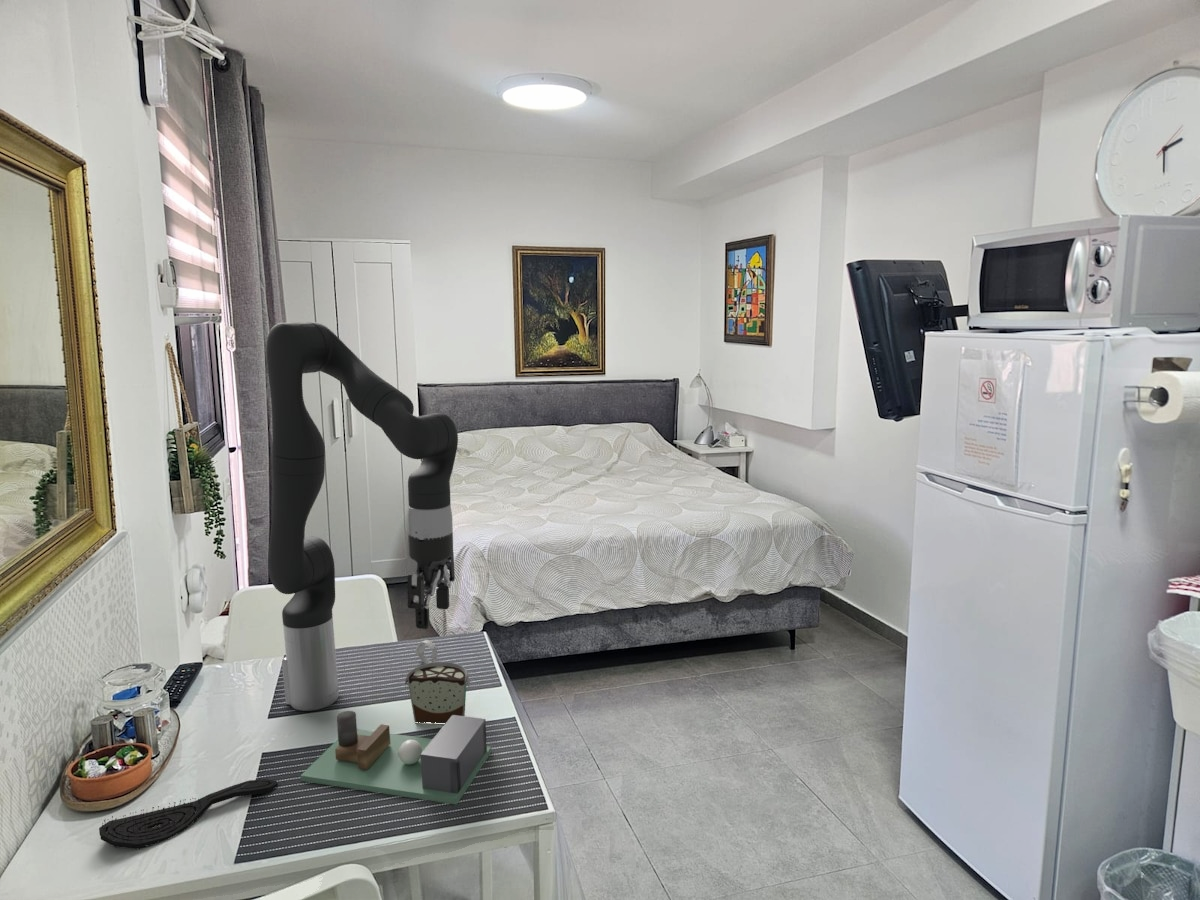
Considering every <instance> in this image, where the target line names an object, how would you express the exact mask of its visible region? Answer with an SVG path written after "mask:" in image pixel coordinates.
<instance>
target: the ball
mask: <svg viewBox="0 0 1200 900" xmlns="http://www.w3.org/2000/svg"><path fill="white" fill-rule="evenodd" d="M421 753H422V747H421V745H420V743H419V742H418V741H416V740H412V739H410V740H406V741H405V742H403V743H402V744H401V746H400V747H399V750H398V756H399V759H400V760H401V761H402V762H403V763H405V764H409V765H410V764H414V763H416V762H417V761H418V760H419V759H420V758H421V755H420V754H421Z"/></svg>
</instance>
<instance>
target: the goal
mask: <svg viewBox="0 0 1200 900" xmlns="http://www.w3.org/2000/svg"><path fill="white" fill-rule="evenodd" d="M486 722H487V721H486V718H482V717H474V716H473V717H472V716H457V715H452V716H451V717H450V719H449V720H448V721H447V722H446V723H445V725H442V727H441V728H440V730H439V731H438V732H437V733H436V735H435V736H434V737H433V738H431V739H432V741H431V742H430V743H429V744H428V746H427V747H426V748H425V749H424V751H423V752H422V753H421V754H420V755H421V772H422V788H423V789H430V790H437V791H443V792H450V793H457V794H458V793H459V791H460V790H461V788H462V787H463V785H464V784H465V782H466V781H467V780H468V778H469V777H470V775H471V774H472V772H473V771H474V769H475V768H476V766H477V765H478V763H479V762H480V760H481V759H482V757H483V756H484V754H485V753H486V751H487V746H488V745H487V723H486Z"/></svg>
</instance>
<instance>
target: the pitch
mask: <svg viewBox="0 0 1200 900" xmlns="http://www.w3.org/2000/svg"><path fill="white" fill-rule="evenodd" d="M374 731H375V730H365V729H359V728H357V734H358V735H366V736H370V735H371V734H372V733H373V732H374ZM410 739H412V740H416V741H418V742H419V743H420V745H421V747H422V752H423V751H424V749H425V748H426V747H427V746H428V744H429V743H430V742H431V741H432V739H433V738H427V737H426V738H425V737H419V736H411V735H403V734H396V733H390V745H389V746H388V747H387V748H386V749H385V750H384V752H383V753H382V754H381V755H380V756H379V757H378V758H377V759H376V760H375V762H374V763H373V764H372V765H371V766H370V767H369V768H368V769H367V770H365V769H359V768H358V763H356V762H349V761H342V760H336V754H335V749H336V748H337V747H338V746H339V743H338V739H336V741H334V743H332V744H331V745H330V747H328V748H327V749H326V750H325V751H324V752H323V753H322V754H321V755H320V756H319V757H318V758H317V759H316V760H315V761H314V762H313V763H312V764H311V765H310V766H309V767H308V768H307V769H306V770H304V772H303V773H302V774H301V775H300V780H301V781H302V782H307V783H313V784H319V785H324V786H325V785H326V786H333V787H339V788H344V789H345V788H347V789H353V790H360V791H364V790H365V792H372V793H378V794H384V795H393V796H399V797H404V798H410V799H411V798H412V799H419V800H423V801H424V800H425V801H430V802H431V801H432V802H438V803H444V804H451V805H458V804H459V802H460V800H461V799H462V797H463V796H464V795H465V793H466V792H467V789H468V788H469V787H470V785H471V784H472V782H473V780H474V779H475V778H476V776H477V774H479V771H480V770H481V769H482V767H483V766H484V764H485V762H486V761H487V759H488V758H489V756H490V755H491V753H492V746H488V745H487V751H486V753H485V754H484V756H483V757H482V759H481V760H480V762H479V763H478V765H477V766H476V768H475V769H474V771H473V772H472V774H471V775H470V777H469V778H468V780H467V781H466V782H465V784H464V785H463V787H462V788H461V790H460V791H459V793H458V794H457V793H450V792H443V791H437V790H430V789H423V788H422V772H421V758H420V759H419V760H418V761H417V762H416V763H414V764H410V765H409V764H405V763H403V762H402V761H401V760H400V759H399V756H398V750H399V747H400V746H401V744H402V743H403V742H405V741H406V740H410Z"/></svg>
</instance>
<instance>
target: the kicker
mask: <svg viewBox="0 0 1200 900" xmlns="http://www.w3.org/2000/svg"><path fill="white" fill-rule="evenodd" d="M336 727H337V740H338V743H339V746H338V747H337V748H336V749H335V754H336V760H342V761H349V762H356V763H358V768H359V769H365V770H367V769H368V768H369V767H370V766H371V765H372V764H373V763H374V762H375V760H376V759H377V758H378V757H379V756H380V755H381V754H382V753H383V752H384V750H385V749H386V748H387V747H388V746H389V745H390V734H391V732H390V725H389V724H380V725H379V726H378V727H376V729H375V730H373V731H374V732H373V733H372V734H371V735H370V736H366V735H358V734H357V729H358V728H357V727H358V726H357V714H356V711H354V710H344V711H341V712H339V713H338V714H337V715H336Z"/></svg>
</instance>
